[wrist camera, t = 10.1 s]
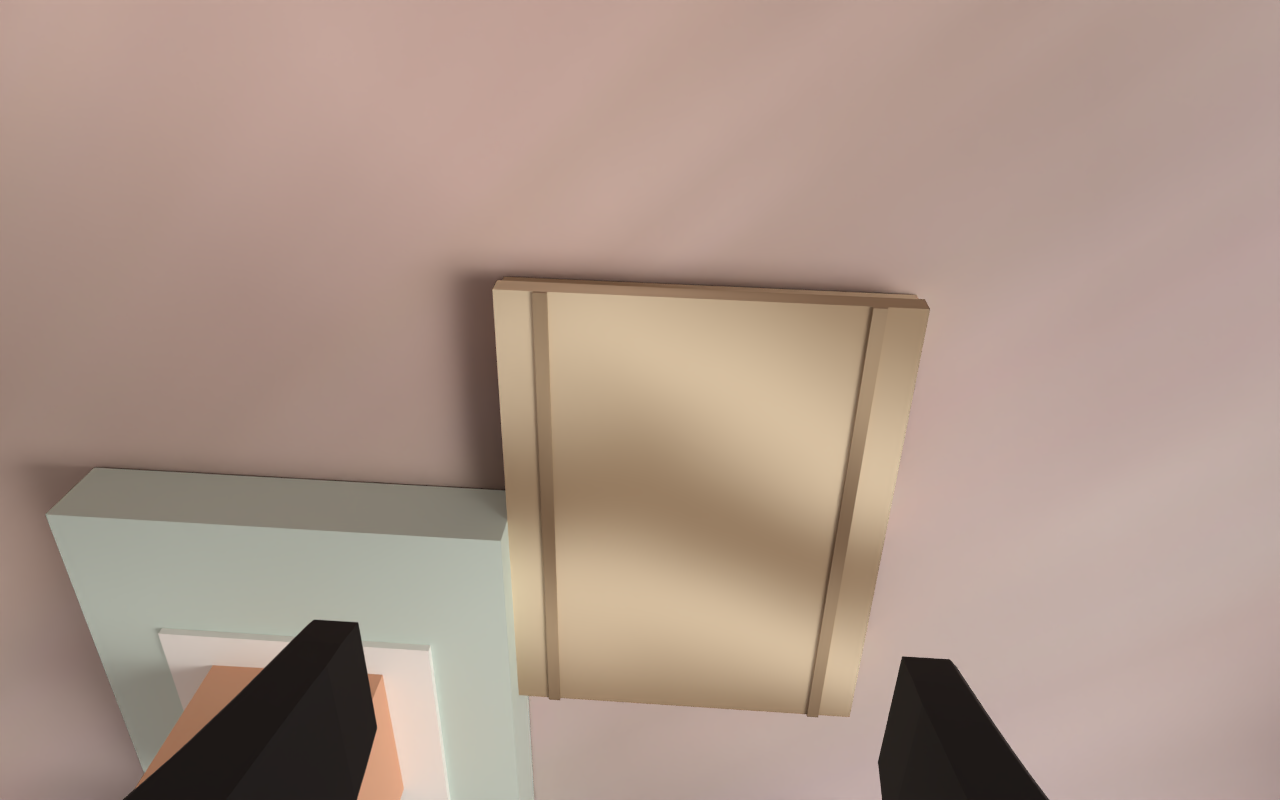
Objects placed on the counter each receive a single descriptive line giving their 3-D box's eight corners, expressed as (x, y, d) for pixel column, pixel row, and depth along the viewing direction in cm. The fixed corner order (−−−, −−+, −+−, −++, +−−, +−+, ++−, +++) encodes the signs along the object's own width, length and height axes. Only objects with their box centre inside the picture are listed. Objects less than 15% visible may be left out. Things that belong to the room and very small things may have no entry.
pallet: (843, 682, 25) (850, 719, 24) (526, 662, 26) (518, 697, 25) (917, 286, 19) (930, 310, 18) (503, 267, 20) (491, 291, 19)
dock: (536, 837, 30) (507, 999, 25) (211, 813, 30) (128, 968, 26) (516, 490, 23) (472, 633, 18) (94, 467, 23) (-46, 601, 19)
